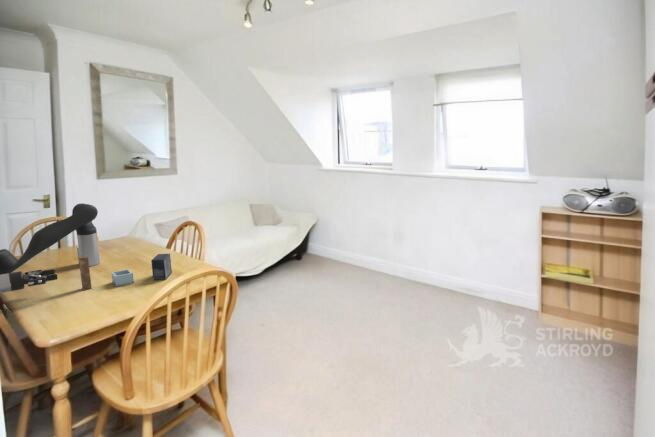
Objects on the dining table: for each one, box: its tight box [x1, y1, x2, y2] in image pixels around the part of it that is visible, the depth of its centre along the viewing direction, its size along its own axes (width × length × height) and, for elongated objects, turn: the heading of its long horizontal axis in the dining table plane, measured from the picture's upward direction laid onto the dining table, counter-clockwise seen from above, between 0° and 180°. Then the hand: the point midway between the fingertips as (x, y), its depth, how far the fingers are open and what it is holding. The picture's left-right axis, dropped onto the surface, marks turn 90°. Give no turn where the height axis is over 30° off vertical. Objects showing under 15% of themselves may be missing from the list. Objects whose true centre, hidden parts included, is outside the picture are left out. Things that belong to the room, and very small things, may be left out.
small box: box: [150, 253, 173, 281], centre depth 199 cm, size 11×6×10 cm, turn 5°
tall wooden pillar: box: [78, 256, 93, 291], centre depth 183 cm, size 3×3×15 cm
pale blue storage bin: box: [111, 268, 135, 288], centre depth 191 cm, size 8×8×5 cm
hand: (55, 274), depth 175 cm, fingers open, 8 cm apart
